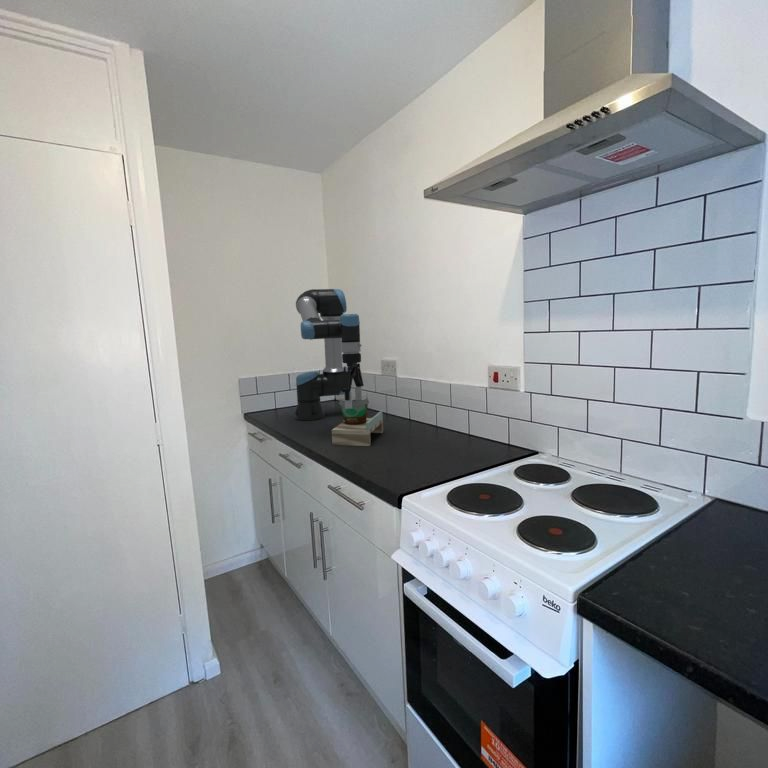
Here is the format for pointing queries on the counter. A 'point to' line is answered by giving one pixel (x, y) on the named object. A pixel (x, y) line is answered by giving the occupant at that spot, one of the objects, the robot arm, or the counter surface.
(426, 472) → the counter surface
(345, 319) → the robot arm
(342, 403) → the food container
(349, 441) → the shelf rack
